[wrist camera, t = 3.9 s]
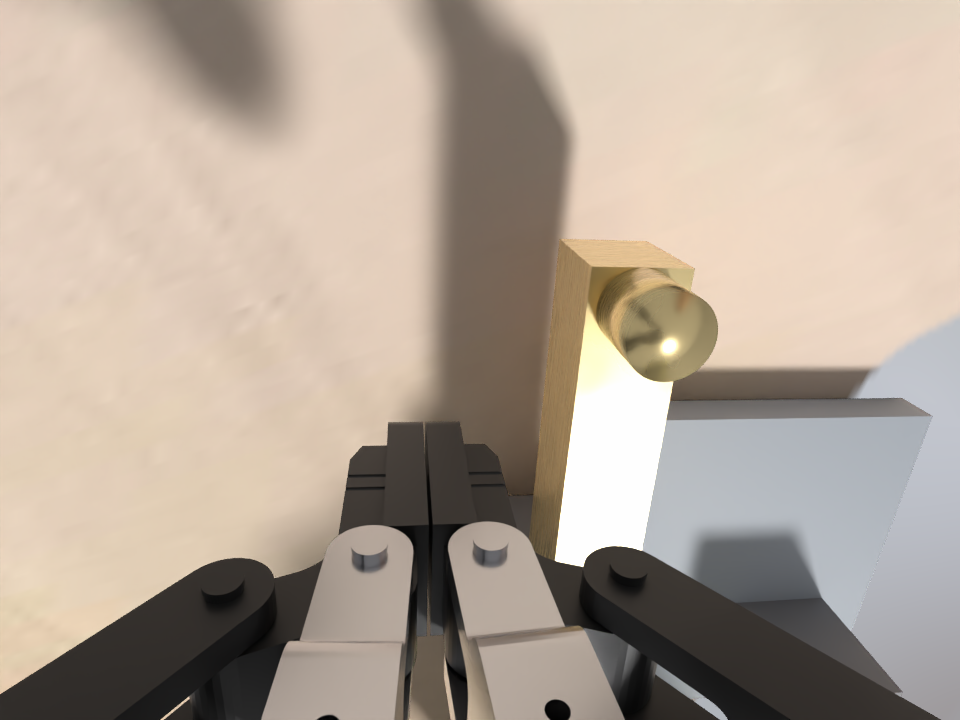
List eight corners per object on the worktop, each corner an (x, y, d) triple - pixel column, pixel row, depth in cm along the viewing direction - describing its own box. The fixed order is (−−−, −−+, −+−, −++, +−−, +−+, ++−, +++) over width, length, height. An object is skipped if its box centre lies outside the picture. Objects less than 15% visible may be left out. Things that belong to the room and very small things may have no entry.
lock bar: (592, 643, 23) (641, 778, 19) (508, 649, 23) (537, 788, 18) (658, 241, 17) (754, 293, 13) (547, 238, 17) (604, 291, 12)
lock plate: (457, 686, 27) (473, 834, 22) (472, 402, 22) (498, 504, 16) (810, 660, 30) (904, 787, 24) (902, 398, 24) (1050, 486, 19)
